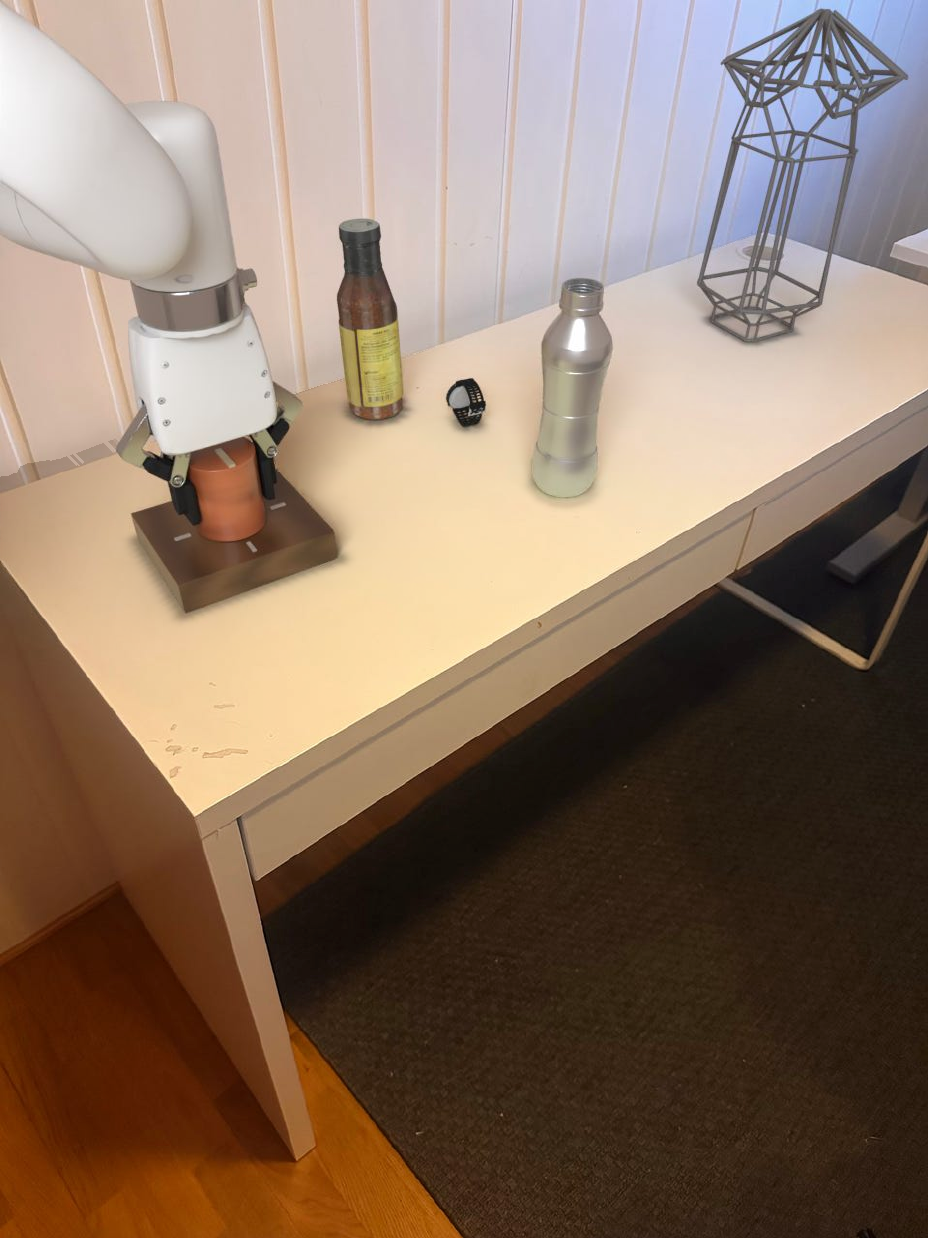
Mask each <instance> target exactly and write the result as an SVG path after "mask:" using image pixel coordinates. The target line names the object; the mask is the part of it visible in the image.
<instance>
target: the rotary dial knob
mask: <svg viewBox="0 0 928 1238" xmlns="http://www.w3.org/2000/svg"><path fill="white" fill-rule="evenodd" d="M186 476H187V478H188V479H189V480H190V481H191V483H192V484H193V486H194V490H195V494H196V499H197V504H198V508H199V513H200V517H201V522H200V524H198V525H196V528H197V530H198V532H199V533H200V534H201V535H202V536H204V537H206V538H208V539H211V540H214V541H222V542H228V541H237V540H241V539H245V538H247V537H250V536H252V535H254V534H255V533H257V532H258V531H259V530H261V528H262V527H263V526H264V524H265V522H266V513H265V507H264V501H263V494H262V488H261V482H260V475H259V469H258V463H257V457H256V450H255V446H254V444H253V443H252V441H251V439H250V438H248V437H246V436H244V437H241V438H238V439H234V440H231V441H228V442H225V443H221V444H218V445H215V446H211V447H208V448H204V449H201V450H197V451H194V452H191V456H190V460H189V465H188V470H187V475H186Z"/></svg>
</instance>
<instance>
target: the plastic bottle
mask: <svg viewBox="0 0 928 1238" xmlns="http://www.w3.org/2000/svg"><path fill="white" fill-rule="evenodd" d="M604 294H605V285H604V283H602V282H601V281H599V280H596V279H593V278H588V277H574V278H569V279H567V280H565V281H563V283H561V291H560V298H559V300H558V307H559V309H560V310H561V311H560V313H559V314H558V315H557V316H556V317H555V318H554V319H553V320H552V322H551V323H550V324H549V326H548V327H547V329H546V330H545V332H544V334H543V338H542V340H541V344H540V345H541V346H540V355H541V371H542V373H541V374H542V404H541V405H542V407H541V410H542V411H541V417H540V422H539V430H538V433H537V434H538V435H537V440H536V442H535V445H534V449H533V452H532V457H531V463H530V465H531V476H532V479H533V481H534V483H535V484H536V486H537V487H538V489H539V490H541V492H543V493H544V494H547V495H549V496H553V497H556V498H572V497H576V496H580V495H582V494H584V493H585V492H586V491H587V490H588V489H589V488H590V487H591V486H592V485H593V483H594V482H595V478H596V475H597V472H598V469H599V453H598V445H597V443H598V441H597V439H598V417H599V411H600V403H601V400H602V394H603V388H604V385H605V381H606V377H607V375H608V370H609V366H610V364H611V359H612V356H613V350H614V343H613V338H612V337H613V336H612V334H611V332H610V330H609V328H608V325H607V323H606V322H605V321H604V319H603V317H602V316H601V314H600V312H602V311H603V309H604V304H605V303H604Z"/></svg>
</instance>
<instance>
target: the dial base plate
mask: <svg viewBox="0 0 928 1238" xmlns="http://www.w3.org/2000/svg"><path fill="white" fill-rule="evenodd" d="M275 470H276V477H277V483H276V484H273V486H274V492H275V499H272V500H268V499H267V500H266V499H265V498H264V497H263V501H264V507H265V513H266V522H265V524H264V526H263V527H262V528H261V530H259V531H258V532H257V533H255V534H254V535H252V536H250V537H247V538H245V539H241V540H237V541H228V542H222V541H214V540H211V539H208V538H206V537H204V536H202V535H201V534H200V533H199V532H198V530H197V528H196V525H195V526H193V525H192V524H191V522H190V521H189V520H188V519H187V517H186V516H185V515H184V514H182V515H179V514H178V513H177V512H176V510H175V508H174V506H173V503H172V500H169V501H166V502H163V503H161V504H157V505H154V506H151V507H146V508H144V509H141V510H138V511H137V510H136V511H135V512H131V513H130V517H131V519H132V523H133V527H134V530H135V534H136V537H137V541H138V543H139V544H140V545H141V547H142V548H143V550H144V552H145V554H146V555H147V556H148V558H149V559H150V561H151V563H152V564H153V566H154V567H155V569H156V570H157V572H158V573H159V575H160V577H161V578H162V580H163V581H164V583H165V584H166V586H167V587H168V589H169V590H170V592H171V594H172V596H173V597H174V598H175V599H176V601H177V603H178V604H179V606H180V607H181V609H182V610H183V612H184V614H187V613H190V612H193V611H197V610H200V609H201V608H204V607H207V606H210V605H213V604H215V603H218V602H221V601H223V600H227V599H229V598H232V597H234V596H238V595H240V594H242V593H245V592H248V591H251V590H253V589H257V588H259V587H262V586H266V585H268V584H270V583H273V582H275V581H279V580H281V579H284V578H286V577H290V576H293V575H295V574H299V573H301V572H302V571H306V570H308V569H312V568H314V567H317V566H321V565H323V564H325V563H328V562H331V561H334V560H336V559H338V554H337V545H336V535H335V534H336V533H335V530H334V529H333V527H331V525H330V524H329V523H328V522H326V520H325V519H324V518H323V517H322V516H321V515H320V514H319V513H318V511H316V509H314V508H313V506H312V505H311V504H310V503H309V502H308V501H307V500H306V499H305V498H304V497H303V496H302V494H301V493H300V492H299V491H298V490H297V488H295V487H294V486H293V484H291V483H290V481H288V479H287V478H286V477H285V476H284V475H283V474H282V473H281V472H280V470H278V468H275Z"/></svg>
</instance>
